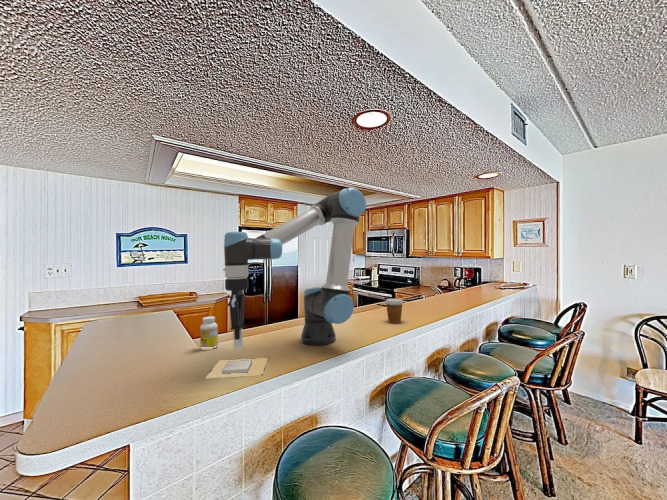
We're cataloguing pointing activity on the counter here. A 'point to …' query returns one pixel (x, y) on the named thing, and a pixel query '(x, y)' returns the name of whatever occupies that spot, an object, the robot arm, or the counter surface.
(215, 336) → the supplement bottle
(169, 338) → the counter surface
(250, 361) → the tile
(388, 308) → the disposable coffee cup
